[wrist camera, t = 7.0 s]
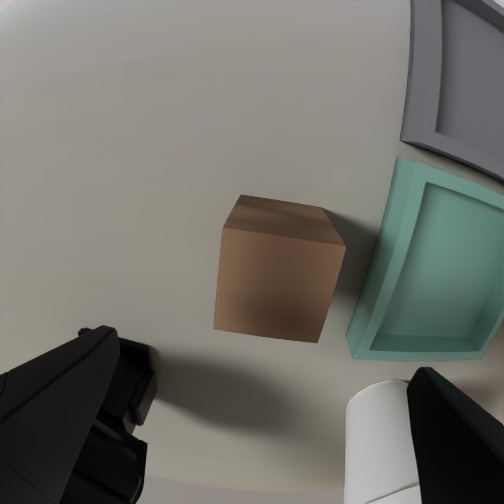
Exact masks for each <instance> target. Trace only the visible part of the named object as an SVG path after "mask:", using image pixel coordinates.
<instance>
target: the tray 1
mask: <svg viewBox="0 0 504 504" xmlns="http://www.w3.org/2000/svg"><path fill="white" fill-rule="evenodd" d="M400 141H403V142H406V143H410V144H413V145H416V146H419V147H421V148H424V149H427V150H430V151H433V152H435V153H438V154H441V155H443V156H446V157H449V158H451V159H454V160H456V161H459V162H461V163H464V164H466V165H468V166H471V167H473V168H475V169H478V170H480V171H482V172H484V173H486V174H489V175H491V176H493V177H495V178H497V179H499V180H501V181H503V182H504V8H503V7H501V6H500V5H499V4H497V3H496V2H494V1H493V0H411V31H410V54H409V69H408V80H407V90H406V99H405V107H404V115H403V122H402V128H401V135H400Z"/></svg>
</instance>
